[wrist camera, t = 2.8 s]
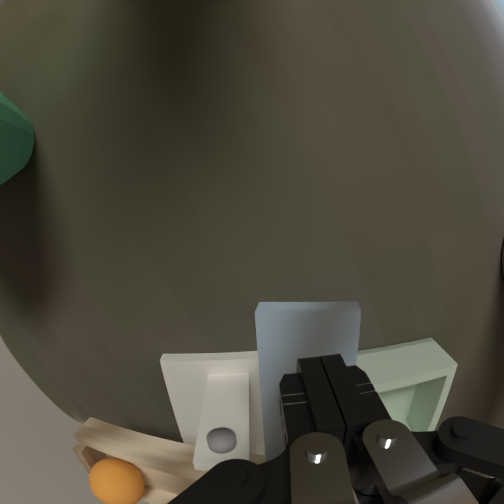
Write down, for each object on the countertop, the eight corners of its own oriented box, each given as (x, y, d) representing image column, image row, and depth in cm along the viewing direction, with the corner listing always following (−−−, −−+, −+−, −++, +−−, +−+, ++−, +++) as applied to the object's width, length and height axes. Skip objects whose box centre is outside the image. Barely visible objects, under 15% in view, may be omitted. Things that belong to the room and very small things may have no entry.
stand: (294, 347, 22) (318, 441, 13) (293, 447, 25) (305, 528, 16) (162, 353, 22) (125, 442, 13) (190, 451, 25) (176, 529, 16)
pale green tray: (431, 337, 22) (457, 364, 18) (409, 419, 25) (426, 448, 20) (320, 356, 22) (333, 391, 18) (314, 439, 25) (322, 474, 20)
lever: (357, 301, 12) (368, 339, 9) (326, 506, 16) (324, 538, 13) (43, 289, 15) (9, 308, 12) (119, 470, 19) (103, 493, 16)
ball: (142, 454, 16) (120, 496, 12) (158, 484, 17) (141, 523, 13) (95, 441, 17) (70, 477, 13) (113, 472, 18) (93, 506, 14)
